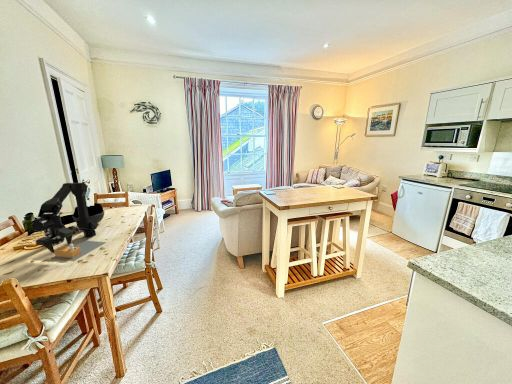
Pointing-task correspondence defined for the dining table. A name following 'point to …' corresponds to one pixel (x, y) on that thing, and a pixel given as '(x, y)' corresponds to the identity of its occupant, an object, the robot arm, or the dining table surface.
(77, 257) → the keeper board
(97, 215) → the coal bowl
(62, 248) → the orange rectangular block
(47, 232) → the spotted tube
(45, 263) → the dining table surface
